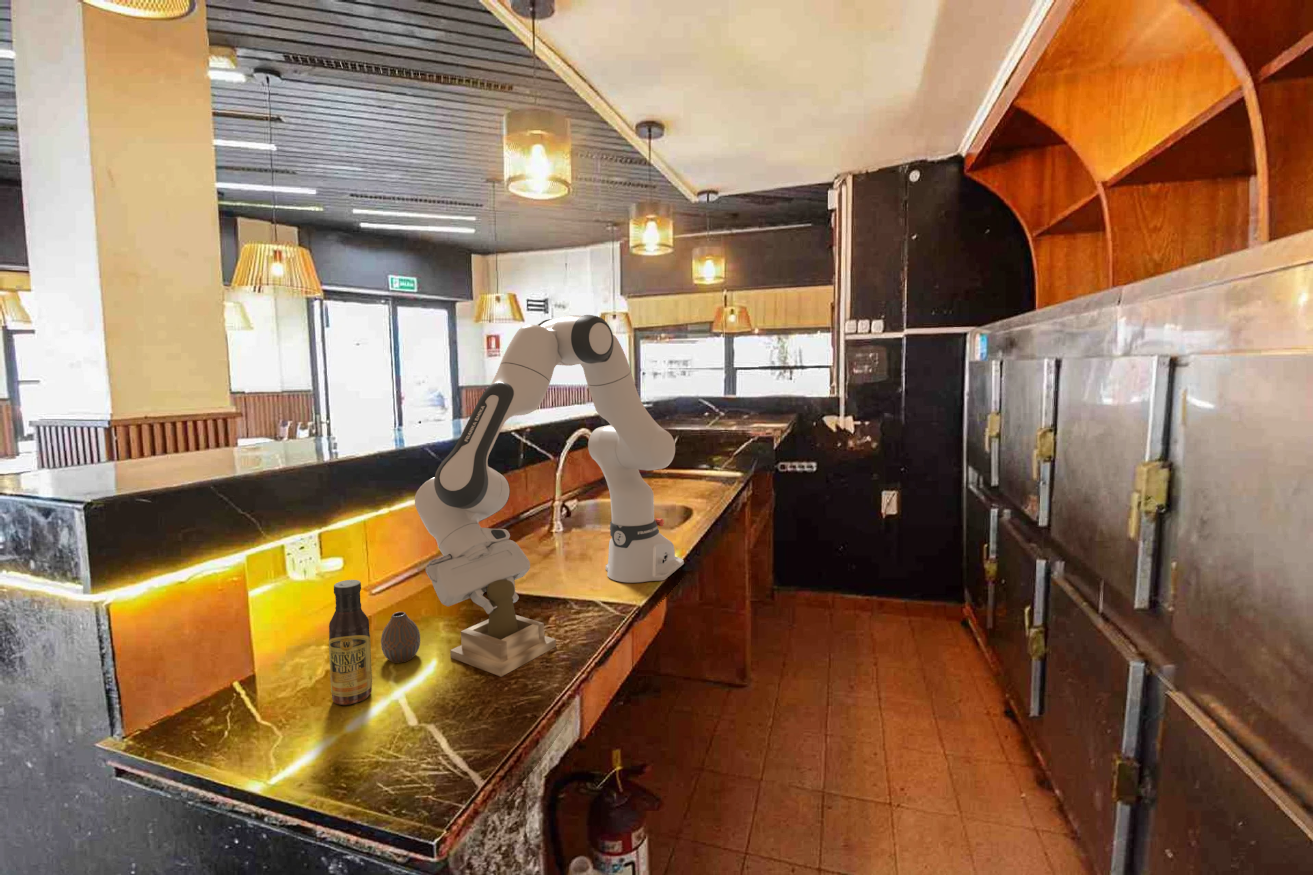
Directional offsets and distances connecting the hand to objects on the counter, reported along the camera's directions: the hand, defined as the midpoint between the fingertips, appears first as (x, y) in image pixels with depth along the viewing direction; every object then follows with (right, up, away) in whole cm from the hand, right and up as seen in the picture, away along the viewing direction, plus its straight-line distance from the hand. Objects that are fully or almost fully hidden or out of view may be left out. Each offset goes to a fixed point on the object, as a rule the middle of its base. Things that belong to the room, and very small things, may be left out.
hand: (504, 606), depth 119 cm
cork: (0, -6, +1) cm, 7 cm away
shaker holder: (0, -9, +1) cm, 9 cm away
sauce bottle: (-22, -12, -14) cm, 29 cm away
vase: (-19, -10, 0) cm, 22 cm away
